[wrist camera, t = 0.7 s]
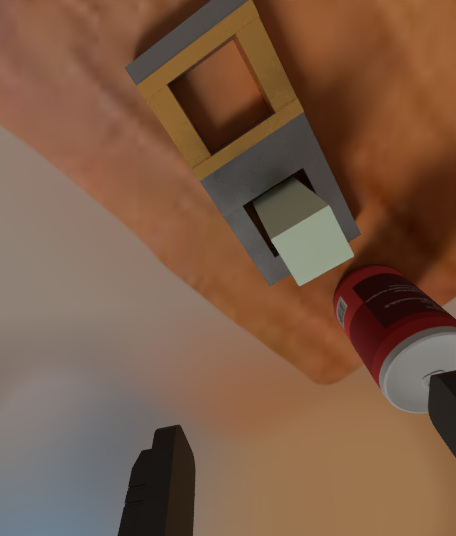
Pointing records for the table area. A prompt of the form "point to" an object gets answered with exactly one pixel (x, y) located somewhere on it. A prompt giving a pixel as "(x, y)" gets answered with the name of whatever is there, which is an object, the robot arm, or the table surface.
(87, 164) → the table surface
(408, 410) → the canned food
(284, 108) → the grey yellow flat board
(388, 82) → the table surface
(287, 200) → the sage block
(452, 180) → the table surface
